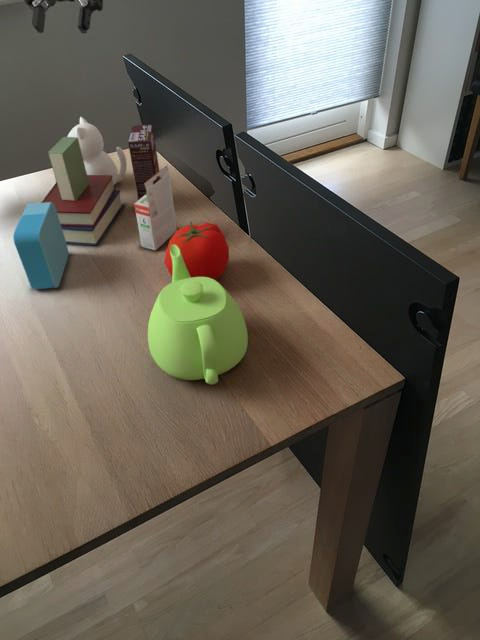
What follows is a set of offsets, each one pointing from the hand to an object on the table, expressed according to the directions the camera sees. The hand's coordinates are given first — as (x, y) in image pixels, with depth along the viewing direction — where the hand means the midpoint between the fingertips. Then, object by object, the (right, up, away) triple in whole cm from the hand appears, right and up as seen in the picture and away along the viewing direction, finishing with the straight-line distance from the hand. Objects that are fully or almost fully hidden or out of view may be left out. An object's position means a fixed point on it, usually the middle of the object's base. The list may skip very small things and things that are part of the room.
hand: (60, 30), depth 98 cm
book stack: (0, -32, +16) cm, 36 cm away
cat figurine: (+1, -21, +29) cm, 36 cm away
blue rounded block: (-3, -44, +4) cm, 44 cm away
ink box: (+17, -37, +10) cm, 42 cm away
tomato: (+25, -45, +1) cm, 52 cm away
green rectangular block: (-1, -27, +11) cm, 29 cm away
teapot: (+26, -57, -13) cm, 64 cm away
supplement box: (+13, -27, +22) cm, 37 cm away
